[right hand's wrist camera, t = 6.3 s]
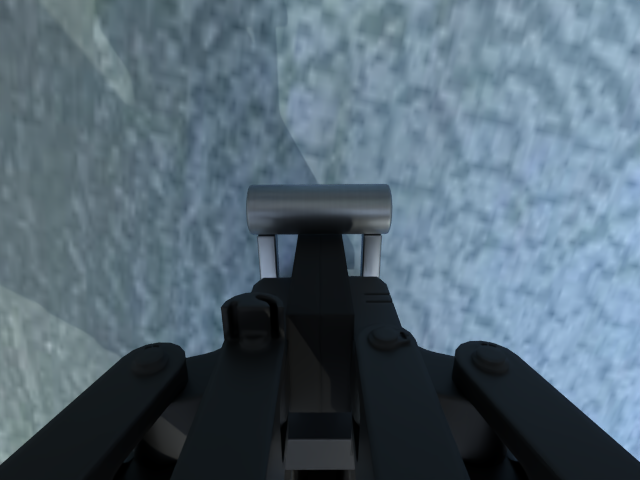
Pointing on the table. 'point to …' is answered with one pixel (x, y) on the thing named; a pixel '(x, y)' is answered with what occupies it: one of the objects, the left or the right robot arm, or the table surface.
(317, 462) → the drawer
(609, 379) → the table surface
